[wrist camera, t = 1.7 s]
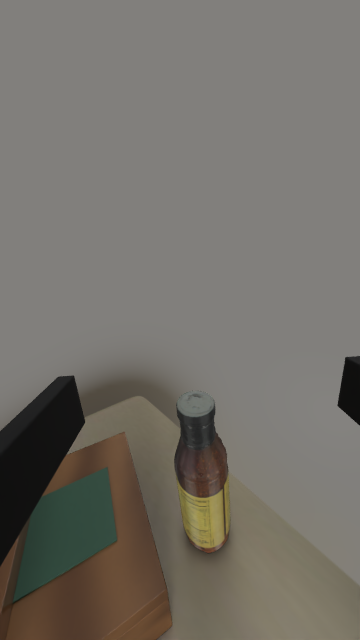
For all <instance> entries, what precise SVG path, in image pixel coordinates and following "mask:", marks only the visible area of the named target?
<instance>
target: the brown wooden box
mask: <svg viewBox="0 0 360 640" xmlns="http://www.w3.org/2000/svg"><path fill="white" fill-rule="evenodd" d="M171 626H172V618H171V612H170V605H169V599H168V592H167V587H166V583H165V580H164V576H163V572H162V568H161V565H160V561H159V557H158V554H157V550H156V546H155V542H154V539H153V535H152V531H151V528H150V524H149V520H148V516H147V513H146V509H145V505H144V502H143V498H142V494H141V490H140V487H139V483H138V479H137V476H136V472H135V468H134V464H133V461H132V457H131V453H130V450H129V446H128V442H127V438H126V435H125V432H123V433H120V434H118V435H115V436H113V437H110V438H108V439H105V440H103V441H100V442H98V443H95V444H93V445H90V446H88V447H85V448H83V449H80V450H78V451H75V452H73V453H70V454H68V455H66V456H65V458H64V459H63V461H62V463H61V464H60V466H59V468H58V469H57V471H56V473H55V475H54V476H53V478H52V480H51V481H50V483H49V485H48V487H47V488H46V490H45V492H44V493H43V495H42V497H41V498H40V500H39V502H38V504H37V505H36V507H35V509H34V510H33V512H32V514H31V515H30V517H29V519H28V521H27V522H26V524H25V526H24V527H23V529H22V531H21V532H20V534H19V536H18V538H17V539H16V541H15V543H14V544H13V546H12V548H11V550H10V551H9V553H8V555H7V556H6V558H5V560H4V561H3V563H2V565H1V567H0V640H156V639H157V638H158V637H160V636H161V635H162V634H163V633H164V632H165V631H166V630H168V629H169V628H170V627H171Z"/></svg>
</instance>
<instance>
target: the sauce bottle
mask: <svg viewBox="0 0 360 640" xmlns="http://www.w3.org/2000/svg"><path fill="white" fill-rule="evenodd" d="M176 406H177V416H178V418H179V420H180V426H181V436H180V440H179V443H178V446H177V450H176V453H175V459H174V463H175V472H176V479H177V485H178V492H179V499H180V506H181V513H182V520H183V525H184V528H185V531H186V533H187V535H188V538H189V540H190V542H191V543H192V544H193V545H194V546H195V547H197V548H198V549H200V550H202V551H205V552H206V553H212V552H214V551H217V550H218V549H219V548H221V547H222V545H223V544H224V543H225V542H226V540H227V538H228V534H229V527H230V500H229V476H228V466H227V454H226V449H225V447H224V445H223V443H222V440H221V439H220V438H219V437H218V434H217V433H216V431H215V426H214V415H215V403H214V400H213V398H212V397H211V396H210V395H209V394H208V393H206V392H202V391H192V392H187V393H185V394H183V395H181V397H179V399H178V401H177V404H176Z"/></svg>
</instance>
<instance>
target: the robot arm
mask: <svg viewBox="0 0 360 640" xmlns="http://www.w3.org/2000/svg"><path fill="white" fill-rule="evenodd" d="M338 407H339V408H341V409H342V410H343V411H344V412H345V413H346V414H347V415H348V416H350V417H351V418H352V419H353V420H354V421H355V422H356V423H357V424H359V425H360V356H357V357H346V358H345V365H344V370H343V376H342V382H341V388H340V394H339V400H338ZM84 423H85V419H84V415H83V411H82V407H81V403H80V399H79V394H78V390H77V386H76V382H75V378H74V376H63V377H58V378H56V380H54V381H53V382H52V383H51V384H50V385H49V386H48V387H47V388H46V389H45V390H44V391H43V392H42V393H40V394H39V395H38V396H37V397H36V398H35V399H34V400H33V401H32V402H31V403H30V404H29V405H28V406H27V407H26V408H25V409H23V411H21V412H20V413H19V414H18V415H17V416H16V417H15V418H14V419H13V420H12V421H11V422H10V423H9V424H7V425H6V427H4V428H3V429H2V430H1V431H0V567H1V565H2V563H3V561H4V560H5V558H6V556H7V555H8V553H9V551H10V550H11V548H12V546H13V544H14V543H15V541H16V539H17V538H18V536H19V534H20V532H21V531H22V529H23V527H24V526H25V524H26V522H27V521H28V519H29V517H30V515H31V514H32V512H33V510H34V509H35V507H36V505H37V504H38V502H39V500H40V498H41V497H42V495H43V493H44V492H45V490H46V488H47V487H48V485H49V483H50V481H51V480H52V478H53V476H54V475H55V473H56V471H57V469H58V468H59V466H60V464H61V463H62V461H63V459H64V458H65V456H66V454H67V452H68V451H69V449H70V447H71V446H72V444H73V442H74V441H75V439H76V437H77V435H78V434H79V432H80V430H81V429H82V427H83V425H84Z"/></svg>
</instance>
